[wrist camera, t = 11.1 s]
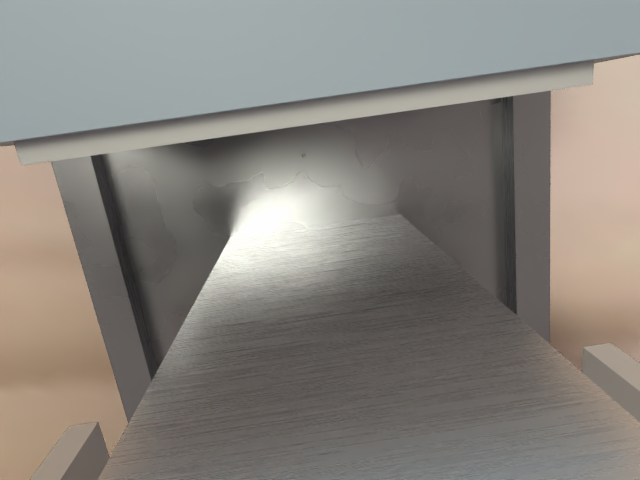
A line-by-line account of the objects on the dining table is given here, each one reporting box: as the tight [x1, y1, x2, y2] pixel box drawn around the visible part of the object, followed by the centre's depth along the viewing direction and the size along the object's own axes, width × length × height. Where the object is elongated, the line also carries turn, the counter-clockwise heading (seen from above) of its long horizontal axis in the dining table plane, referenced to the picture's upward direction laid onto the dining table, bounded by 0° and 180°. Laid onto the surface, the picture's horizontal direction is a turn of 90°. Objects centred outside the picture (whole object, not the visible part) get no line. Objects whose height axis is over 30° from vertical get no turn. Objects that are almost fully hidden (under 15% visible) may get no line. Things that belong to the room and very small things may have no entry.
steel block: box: [98, 214, 640, 480], centre depth 11 cm, size 6×9×12 cm, turn 8°
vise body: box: [51, 91, 550, 423], centre depth 13 cm, size 16×29×8 cm, turn 8°
